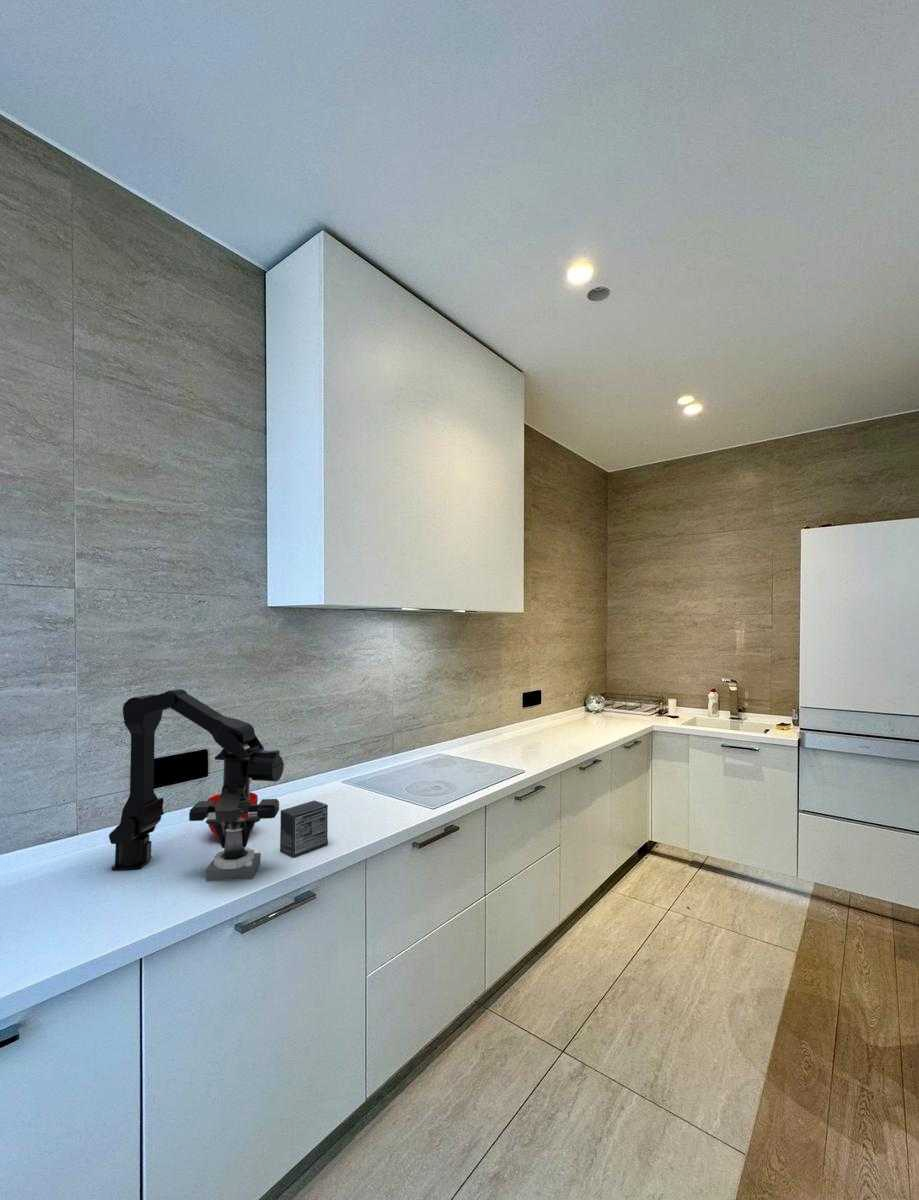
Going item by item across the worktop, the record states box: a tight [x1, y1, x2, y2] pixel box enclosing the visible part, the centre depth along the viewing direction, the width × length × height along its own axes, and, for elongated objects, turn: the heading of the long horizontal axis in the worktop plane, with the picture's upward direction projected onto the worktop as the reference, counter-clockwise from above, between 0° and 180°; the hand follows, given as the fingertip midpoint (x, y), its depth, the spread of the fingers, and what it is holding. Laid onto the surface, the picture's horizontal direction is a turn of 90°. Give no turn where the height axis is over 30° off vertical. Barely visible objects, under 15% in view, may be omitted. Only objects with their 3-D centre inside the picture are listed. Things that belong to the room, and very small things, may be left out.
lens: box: [223, 818, 246, 860], centre depth 125 cm, size 5×5×8 cm
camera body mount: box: [205, 846, 262, 882], centre depth 125 cm, size 10×8×4 cm
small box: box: [279, 800, 329, 859], centre depth 139 cm, size 11×6×10 cm, turn 141°
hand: (234, 847), depth 125 cm, fingers closed on lens, 4 cm apart
